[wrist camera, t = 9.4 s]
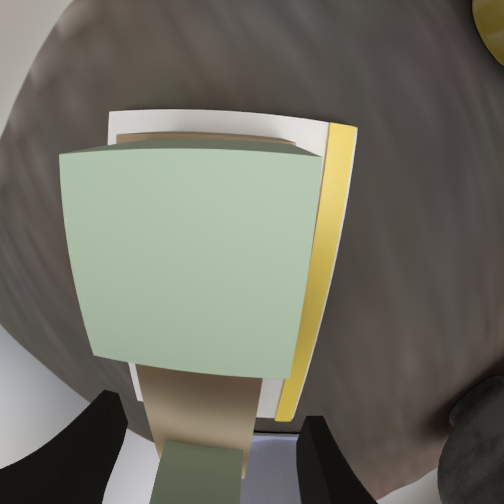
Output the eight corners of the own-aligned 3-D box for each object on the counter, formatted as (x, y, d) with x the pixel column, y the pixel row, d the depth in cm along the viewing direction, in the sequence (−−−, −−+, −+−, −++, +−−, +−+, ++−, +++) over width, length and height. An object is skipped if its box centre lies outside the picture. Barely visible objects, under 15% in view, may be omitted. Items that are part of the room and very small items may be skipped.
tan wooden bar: (247, 409, 20) (244, 479, 14) (179, 401, 20) (162, 468, 14) (281, 138, 13) (296, 142, 8) (173, 130, 13) (116, 134, 8)
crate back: (238, 478, 14) (234, 533, 11) (173, 470, 14) (162, 523, 11) (243, 450, 13) (239, 517, 9) (165, 439, 13) (149, 503, 9)
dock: (291, 399, 22) (293, 421, 20) (144, 382, 22) (136, 403, 20) (346, 127, 15) (359, 127, 12) (125, 112, 14) (106, 111, 12)
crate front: (279, 281, 9) (288, 378, 5) (149, 271, 9) (93, 355, 5) (292, 144, 8) (322, 157, 4) (145, 139, 8) (59, 154, 4)
